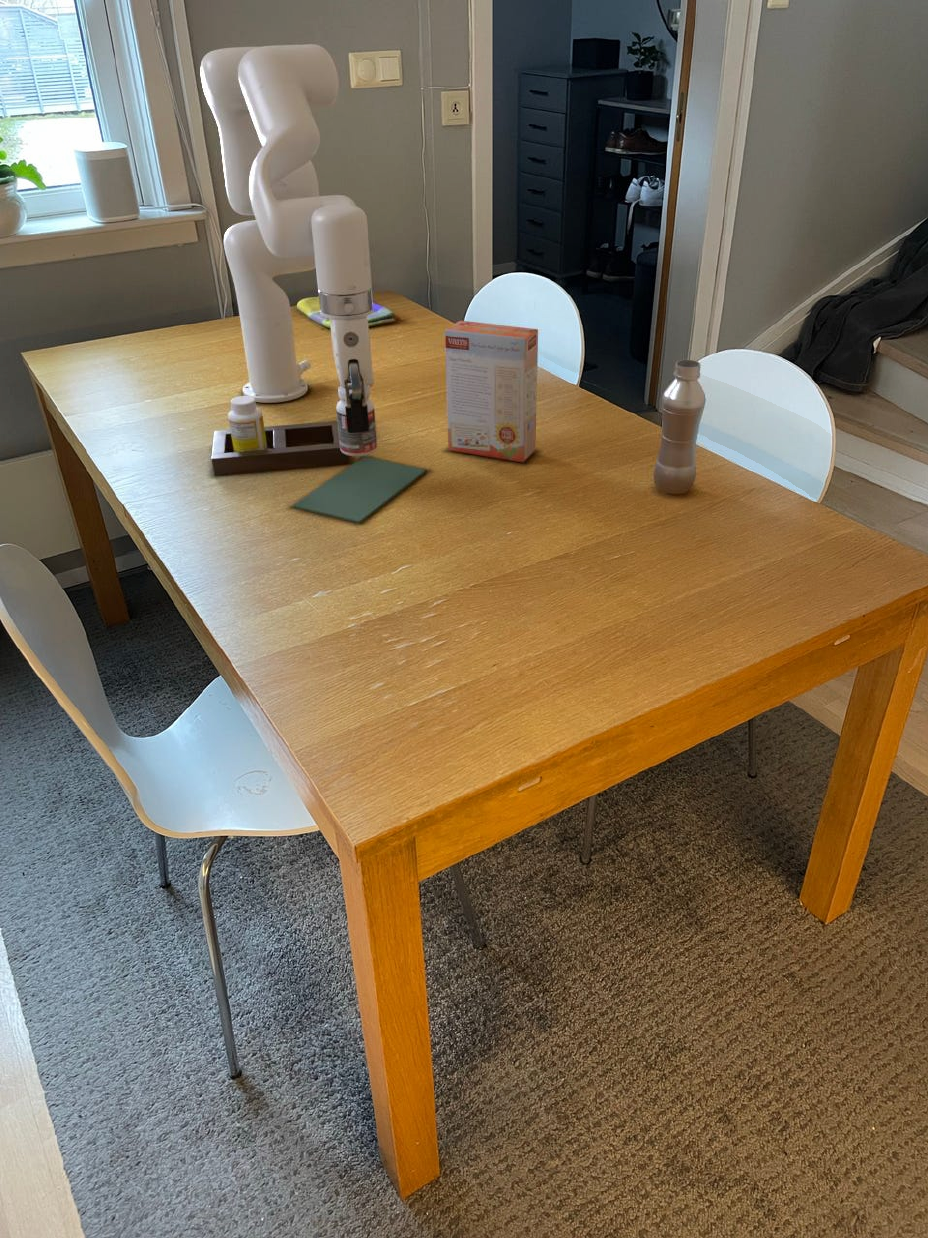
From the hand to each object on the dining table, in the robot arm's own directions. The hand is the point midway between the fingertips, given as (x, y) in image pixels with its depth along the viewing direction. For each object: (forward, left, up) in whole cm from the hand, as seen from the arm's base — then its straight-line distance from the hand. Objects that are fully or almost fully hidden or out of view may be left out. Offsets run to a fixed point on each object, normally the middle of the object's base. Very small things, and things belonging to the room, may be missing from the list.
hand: (356, 422), depth 140 cm
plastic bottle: (-21, +44, -11) cm, 50 cm away
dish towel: (-79, -56, -11) cm, 97 cm away
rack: (-5, -20, -11) cm, 23 cm away
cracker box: (-22, +12, -11) cm, 27 cm away
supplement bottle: (-2, -23, -11) cm, 26 cm away
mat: (0, 0, -11) cm, 11 cm away
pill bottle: (0, 0, -5) cm, 5 cm away
